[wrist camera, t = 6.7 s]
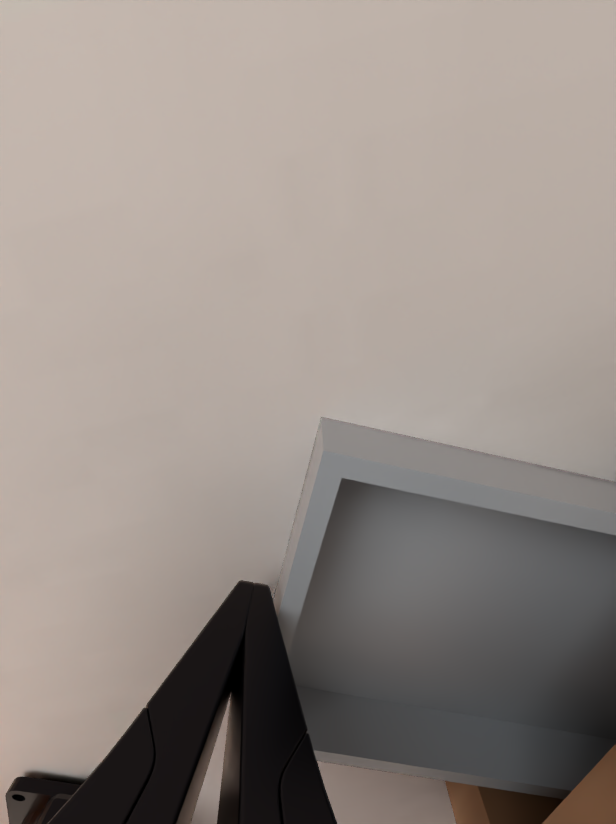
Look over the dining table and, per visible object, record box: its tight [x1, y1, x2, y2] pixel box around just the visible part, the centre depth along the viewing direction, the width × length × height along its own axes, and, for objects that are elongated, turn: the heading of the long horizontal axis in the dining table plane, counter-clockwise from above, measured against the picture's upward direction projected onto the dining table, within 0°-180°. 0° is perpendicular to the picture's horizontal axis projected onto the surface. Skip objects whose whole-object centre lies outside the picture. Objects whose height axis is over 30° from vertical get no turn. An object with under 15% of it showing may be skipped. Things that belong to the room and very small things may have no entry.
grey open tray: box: [273, 417, 616, 799], centre depth 9 cm, size 10×14×2 cm
